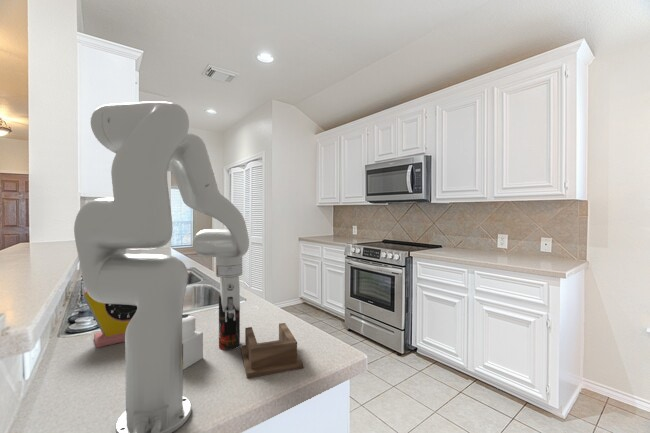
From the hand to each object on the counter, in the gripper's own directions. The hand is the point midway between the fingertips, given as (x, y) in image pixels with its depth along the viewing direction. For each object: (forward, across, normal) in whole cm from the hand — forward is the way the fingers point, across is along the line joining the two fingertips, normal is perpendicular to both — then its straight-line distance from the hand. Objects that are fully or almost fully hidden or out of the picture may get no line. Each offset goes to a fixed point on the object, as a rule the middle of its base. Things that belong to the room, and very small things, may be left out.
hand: (229, 329), depth 91 cm
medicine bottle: (+5, -6, +12) cm, 14 cm away
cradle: (+5, -12, -10) cm, 16 cm away
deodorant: (+5, 0, 0) cm, 5 cm away
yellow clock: (+5, +18, +30) cm, 35 cm away
